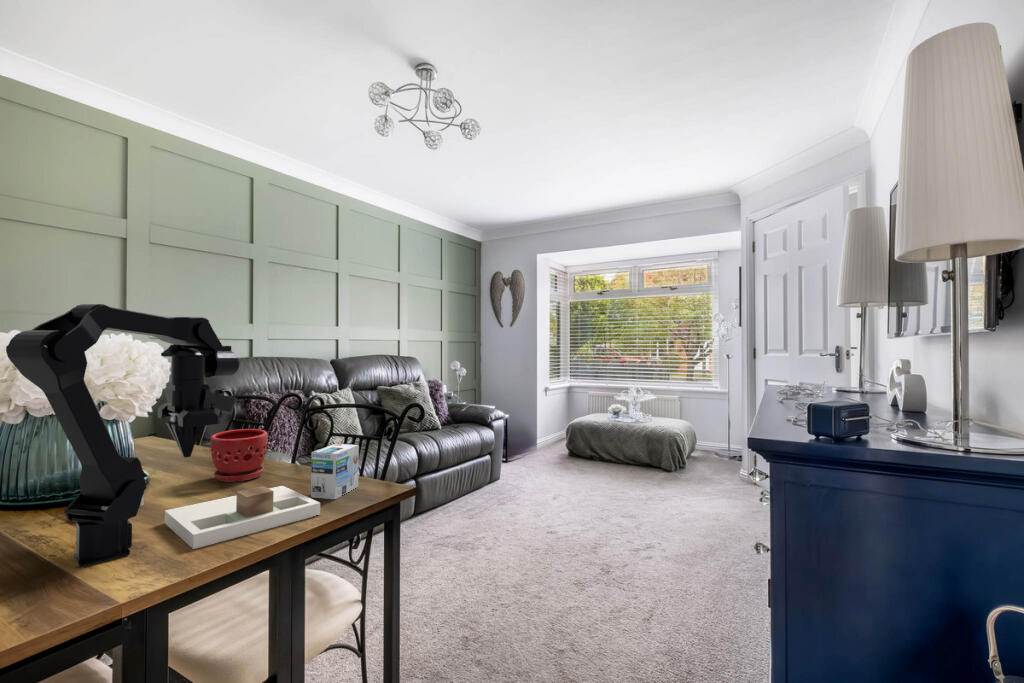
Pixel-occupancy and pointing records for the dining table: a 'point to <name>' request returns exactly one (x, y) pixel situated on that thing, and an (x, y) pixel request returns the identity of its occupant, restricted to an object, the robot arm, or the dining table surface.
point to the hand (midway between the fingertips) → (187, 456)
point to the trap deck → (236, 517)
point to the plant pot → (238, 454)
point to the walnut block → (254, 501)
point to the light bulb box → (334, 471)
